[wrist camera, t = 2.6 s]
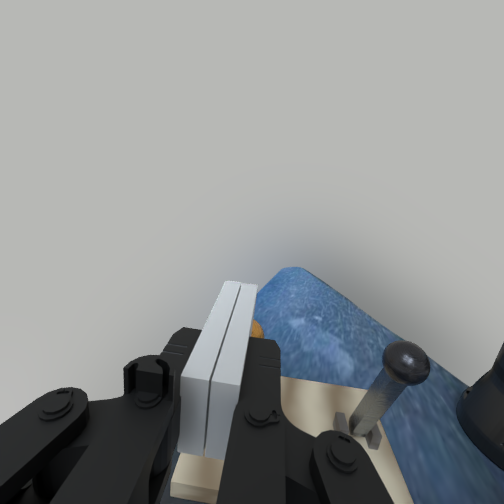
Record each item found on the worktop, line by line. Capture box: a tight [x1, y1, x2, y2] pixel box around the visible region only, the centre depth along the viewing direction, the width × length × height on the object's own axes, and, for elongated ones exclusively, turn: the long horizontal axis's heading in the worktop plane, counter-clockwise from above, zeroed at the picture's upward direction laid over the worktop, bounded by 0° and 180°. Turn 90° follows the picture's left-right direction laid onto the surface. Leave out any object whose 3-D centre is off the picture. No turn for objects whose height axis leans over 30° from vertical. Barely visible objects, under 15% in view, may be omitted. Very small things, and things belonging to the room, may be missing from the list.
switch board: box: [170, 376, 414, 504], centre depth 33 cm, size 23×16×4 cm
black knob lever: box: [349, 341, 430, 437], centre depth 27 cm, size 4×4×16 cm
